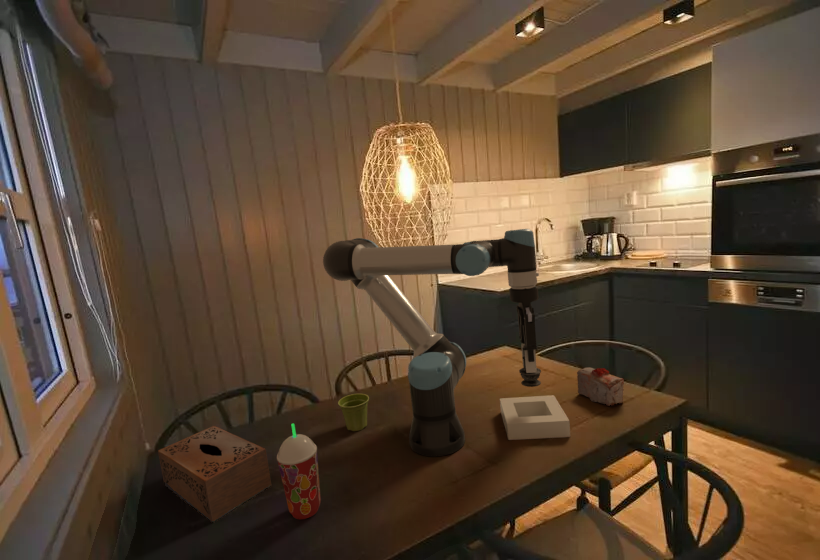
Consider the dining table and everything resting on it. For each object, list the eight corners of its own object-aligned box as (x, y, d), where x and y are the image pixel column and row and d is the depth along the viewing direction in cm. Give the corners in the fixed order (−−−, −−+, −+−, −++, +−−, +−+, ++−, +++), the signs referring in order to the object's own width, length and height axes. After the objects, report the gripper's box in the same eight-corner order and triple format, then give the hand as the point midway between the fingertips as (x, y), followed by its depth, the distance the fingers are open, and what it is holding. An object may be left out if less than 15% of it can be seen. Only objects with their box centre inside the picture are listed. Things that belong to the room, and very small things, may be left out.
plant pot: (375, 429, 121) (371, 402, 120) (343, 437, 119) (339, 409, 118) (369, 417, 130) (366, 391, 129) (340, 423, 128) (336, 397, 127)
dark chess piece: (539, 378, 116) (536, 337, 115) (544, 386, 110) (540, 343, 109) (518, 379, 117) (515, 339, 115) (522, 387, 111) (518, 345, 110)
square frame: (508, 439, 108) (507, 424, 108) (500, 412, 124) (499, 398, 123) (570, 436, 106) (569, 420, 106) (554, 409, 122) (553, 395, 122)
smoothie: (328, 496, 93) (316, 413, 90) (321, 522, 84) (308, 431, 82) (291, 500, 93) (278, 417, 90) (281, 526, 84) (266, 436, 82)
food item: (629, 403, 121) (628, 371, 120) (610, 410, 118) (608, 378, 117) (592, 389, 134) (590, 360, 132) (573, 395, 130) (572, 365, 129)
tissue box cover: (271, 487, 99) (265, 448, 98) (213, 524, 88) (205, 481, 87) (219, 458, 115) (214, 425, 114) (164, 487, 104) (157, 450, 103)
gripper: (544, 290, 101) (551, 379, 104) (531, 280, 118) (536, 358, 121) (514, 292, 102) (521, 381, 105) (504, 283, 119) (511, 360, 122)
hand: (529, 368), depth 113 cm, fingers closed on dark chess piece, 4 cm apart
